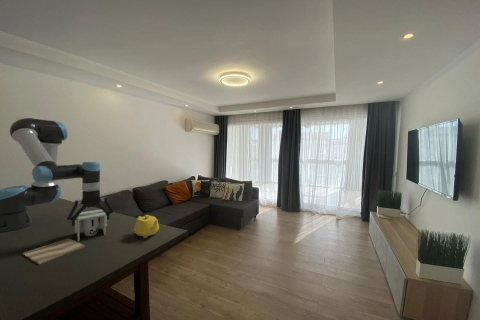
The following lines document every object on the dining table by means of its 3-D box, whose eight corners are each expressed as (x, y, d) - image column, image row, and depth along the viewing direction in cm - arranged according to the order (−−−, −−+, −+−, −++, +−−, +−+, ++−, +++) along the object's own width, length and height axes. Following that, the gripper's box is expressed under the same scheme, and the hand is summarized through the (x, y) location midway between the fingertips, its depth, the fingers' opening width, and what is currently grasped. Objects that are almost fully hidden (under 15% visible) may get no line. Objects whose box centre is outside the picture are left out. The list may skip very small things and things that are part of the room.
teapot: (166, 234, 105) (166, 216, 105) (148, 242, 96) (148, 222, 95) (146, 227, 114) (146, 210, 114) (128, 234, 104) (128, 215, 104)
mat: (22, 254, 82) (22, 253, 82) (68, 239, 97) (68, 238, 97) (39, 264, 75) (39, 263, 75) (85, 246, 90) (85, 245, 90)
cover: (77, 233, 104) (77, 212, 104) (103, 228, 112) (103, 209, 111) (77, 241, 95) (77, 218, 95) (105, 235, 103) (105, 214, 102)
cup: (90, 238, 99) (90, 219, 98) (77, 236, 100) (77, 218, 100) (104, 231, 107) (104, 214, 106) (92, 230, 108) (92, 213, 108)
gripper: (60, 194, 92) (60, 237, 92) (118, 188, 108) (118, 225, 109) (60, 191, 97) (61, 232, 98) (116, 186, 113) (116, 221, 114)
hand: (91, 228), depth 103 cm, fingers open, 12 cm apart
